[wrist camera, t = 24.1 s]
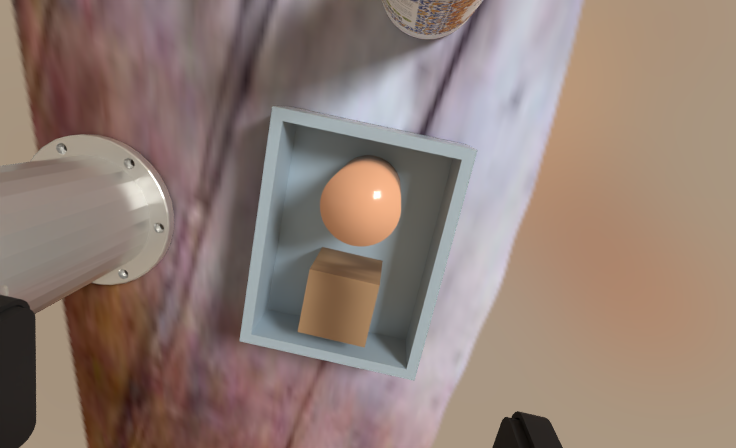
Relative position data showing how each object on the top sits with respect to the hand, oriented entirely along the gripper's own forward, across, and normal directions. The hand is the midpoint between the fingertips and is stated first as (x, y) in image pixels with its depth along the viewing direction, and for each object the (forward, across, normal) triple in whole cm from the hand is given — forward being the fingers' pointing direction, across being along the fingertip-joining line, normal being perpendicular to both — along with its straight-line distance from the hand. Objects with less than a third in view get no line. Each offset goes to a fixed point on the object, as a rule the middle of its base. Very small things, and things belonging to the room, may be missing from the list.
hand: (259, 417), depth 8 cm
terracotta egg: (+26, 0, 0) cm, 26 cm away
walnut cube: (+26, 0, +8) cm, 27 cm away
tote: (+26, 0, +4) cm, 27 cm away
